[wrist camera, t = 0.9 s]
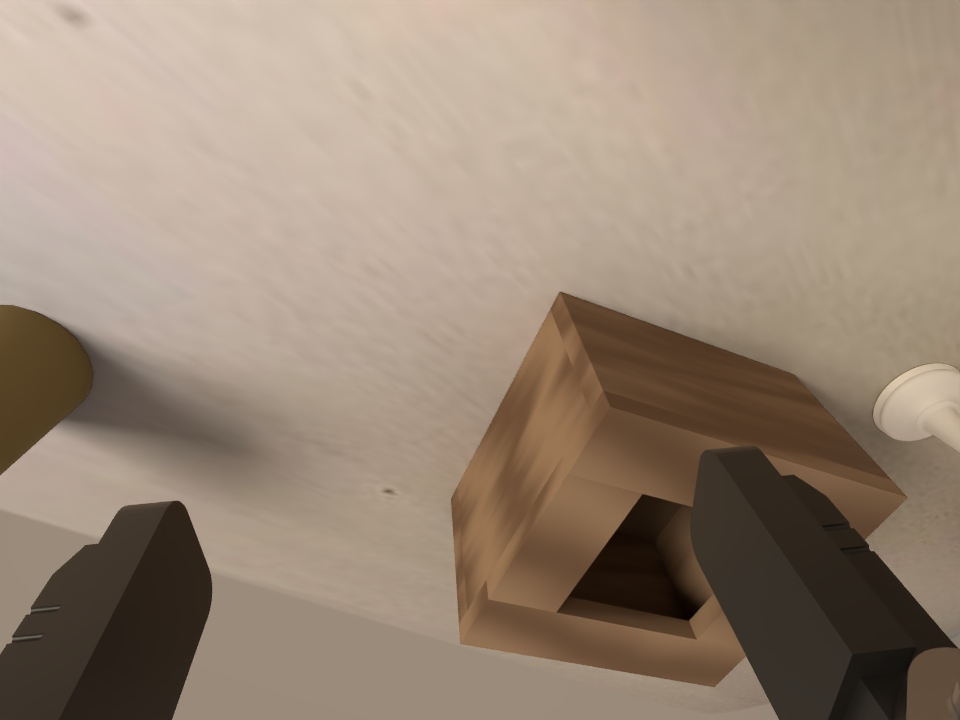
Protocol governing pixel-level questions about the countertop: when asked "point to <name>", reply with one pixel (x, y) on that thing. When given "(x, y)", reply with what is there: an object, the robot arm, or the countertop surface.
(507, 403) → the drop box
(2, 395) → the cork
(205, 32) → the countertop surface
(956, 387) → the chess piece
